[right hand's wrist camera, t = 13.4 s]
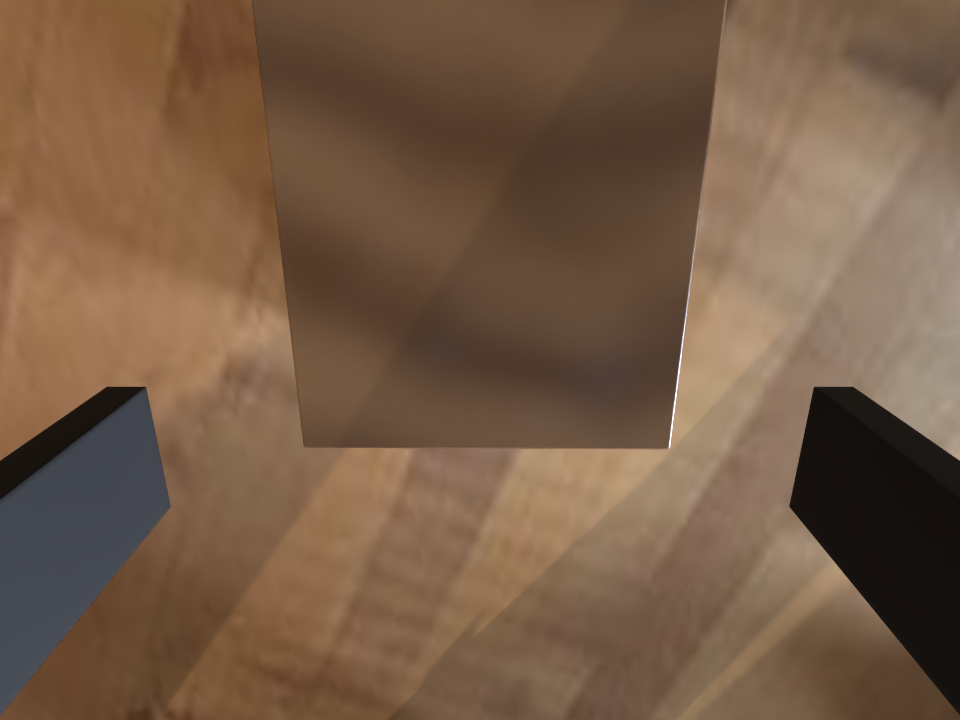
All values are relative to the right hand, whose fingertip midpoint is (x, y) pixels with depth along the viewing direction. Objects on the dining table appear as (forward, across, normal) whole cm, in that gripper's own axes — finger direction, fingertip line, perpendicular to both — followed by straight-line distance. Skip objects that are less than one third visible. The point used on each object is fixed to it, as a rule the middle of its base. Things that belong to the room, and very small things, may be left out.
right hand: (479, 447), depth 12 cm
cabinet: (+16, 0, -7) cm, 17 cm away
